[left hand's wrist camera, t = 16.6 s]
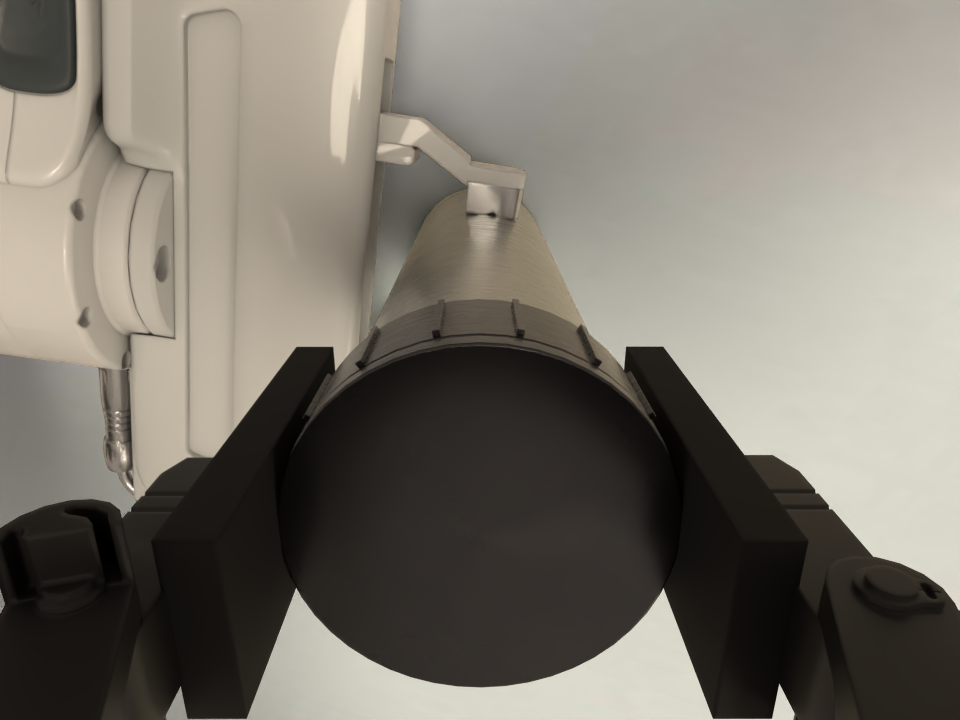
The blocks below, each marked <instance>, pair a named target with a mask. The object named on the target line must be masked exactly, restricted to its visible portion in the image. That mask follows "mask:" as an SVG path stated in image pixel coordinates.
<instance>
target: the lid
mask: <svg viewBox="0 0 960 720" xmlns="http://www.w3.org/2000/svg"><path fill="white" fill-rule="evenodd" d="M655 417H656V415H655V413H654V412H653V410H652V408H651V406H650V404H649V403H648V401H647V399H646V397H645V396H644V394H643V392H642V390H641V388H640V387H639V385H638V383H637V381H636V380H635V378H634V376H633V374H632V373H631V372H628V373H625V371H624V370H623V368H622V367H621V365H620V364H619V363H618V362H617V361H616V360H615V358H614V357H613V356H612V355H611V354H610V353H609V352H608V350H607V349H606V348H605V347H603V346H602V345H601V344H600V343H599V342H598V341H596V340H595V339H594V338H593V337H592V336H591V335H589V333H588V331H587V328H586V327H585V326H583V325H582V324H581V325H580V326H579V327H577V326H576V325H574V324H573V323H571V322H569V321H567V320H565V319H563V318H561V317H559V316H556V315H554V314H552V313H550V312H548V311H544V310H541V309H538V308H535V307H532V306H529V305H525V304H520V303H519V299H512V302H509V301H504V300H488V299H471V300H457V301H450V302H445V299H441V300H438V303H437V304H435V305H430V306H428V307H425V308H422V309H419V310H416V311H413V312H410V313H407V314H405V315H403V316H401V317H399V318H397V319H395V320H393V321H391V322H389V323H387V324H386V325H384V326H383V327H381V328H380V329H379V328H378V327H377V326H375V327H373V328H372V329H371V331H370V333H369V335H368V337H367V338H366V339H364V340H363V341H362V342H361V343H360V344H359V345H358V346H357V347H356V348H354V349H353V350H352V351H351V352H350V353H349V355H348V356H347V357H346V358H345V359H344V361H343V362H342V363H341V364H340V365H339V366H338V368H337V369H336V371H335V373H334V374H333V376H332V375H330V374H327V376H326V377H325V379H324V381H323V383H322V384H321V386H320V388H319V390H318V392H317V393H316V395H315V397H314V399H313V400H312V402H311V404H310V406H309V408H308V409H307V411H306V413H305V415H304V416H303V418H302V419H303V420H305V421H306V424H305V426H304V428H303V429H302V431H301V433H300V435H299V437H298V439H297V441H296V442H295V444H294V447H293V449H292V451H291V454H290V456H289V458H288V460H287V463H286V465H285V468H284V472H283V476H282V480H281V484H280V488H279V496H278V506H277V516H278V524H279V533H280V541H281V548H282V553H283V558H284V560H285V563H286V566H287V568H288V571H289V574H290V576H291V579H292V580H293V582H294V584H295V586H296V588H297V590H298V591H299V593H300V595H301V597H302V598H303V600H304V601H305V602H306V604H307V605H308V607H309V608H310V609H311V611H312V612H313V613H314V615H315V616H316V617H317V618H318V619H319V620H320V621H321V622H322V623H323V624H324V625H325V626H326V627H327V628H328V629H329V631H330V632H332V633H333V634H334V635H335V636H336V637H338V638H339V639H340V640H341V641H343V642H344V643H345V644H346V645H348V646H349V647H350V648H352V649H354V650H355V651H357V652H358V653H360V654H361V655H363V656H364V657H366V658H368V659H370V660H372V661H374V662H376V663H378V664H380V665H382V666H384V667H386V668H388V669H390V670H393V671H396V672H398V673H401V674H404V675H407V676H409V677H413V678H417V679H421V680H425V681H429V682H433V683H438V684H445V685H452V686H463V687H496V686H508V685H515V684H521V683H527V682H532V681H535V680H539V679H543V678H547V677H550V676H553V675H556V674H559V673H561V672H564V671H567V670H569V669H572V668H574V667H576V666H578V665H580V664H582V663H584V662H586V661H588V660H590V659H592V658H594V657H596V656H597V655H599V654H600V653H602V652H603V651H605V650H606V649H608V648H609V647H611V646H612V645H614V644H615V643H616V642H617V641H618V640H620V639H621V638H622V637H623V636H624V635H626V634H627V633H628V632H629V631H630V630H631V629H632V628H633V627H634V626H635V625H636V624H637V623H638V622H639V621H640V620H641V619H642V618H643V617H644V615H645V614H646V613H647V612H648V611H649V609H650V608H651V606H652V605H653V604H654V602H655V601H656V599H657V598H658V597H659V595H660V593H661V591H662V589H663V588H664V586H665V584H666V582H667V580H668V578H669V576H670V574H671V571H672V568H673V565H674V562H675V560H676V557H677V552H678V545H679V537H680V529H681V521H682V511H683V506H682V497H681V489H680V484H679V480H678V476H677V473H676V469H675V466H674V462H673V460H672V458H671V456H670V454H669V451H668V449H667V447H666V445H665V443H664V441H663V439H662V437H661V435H660V433H659V432H658V430H657V428H656V426H655V424H654V422H653V420H652V419H653V418H655Z"/></svg>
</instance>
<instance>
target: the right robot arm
mask: <svg viewBox="0 0 960 720" xmlns="http://www.w3.org/2000/svg"><path fill="white" fill-rule="evenodd" d="M400 7H401V0H0V354H4V355H11V356H18V357H26V358H33V359H40V360H48V361H56V362H63V363H71V364H78V365H85V366H92V367H99V378H100V396H101V403H102V408H103V413H104V419H105V426H106V427H105V429H106V435H105V436H104V442H103V451H104V458H105V461H106V465H107V467H108V469H109V470H110V471H112V472H116V473H118V476H119V479H120V480H121V482H122V483H123V485H124V486H125V488H126V489H127V490H128V491H129V492H130V493H131V494H132V495H134V498H135V500H136V501H138V500H139V498H140V497H141V496H145V491H146V490H147V489H148V488H149V487H150V486H151V484H152V483H153V482H154V481H155V480H156V479H157V477H158V476H159V475H160V474H161V473H163V472H164V471H166V470H167V469H169V468H171V467H172V466H174V465H176V464H177V463H179V462H181V461H182V460H184V459H186V458H187V457H214V456H215V455H216V453H217V452H218V451H219V449H220V448H221V447H222V445H223V444H224V443H225V441H226V440H227V439H228V437H229V436H230V435H231V433H232V432H233V431H234V429H235V428H236V427H237V425H238V424H239V423H240V421H241V420H242V419H243V417H244V416H245V415H246V413H247V412H248V411H249V409H250V408H251V407H252V405H253V404H254V403H255V401H256V400H257V399H258V397H259V396H260V395H261V393H262V392H263V391H264V389H265V388H266V387H267V385H268V384H269V383H270V381H271V380H272V379H273V377H274V376H275V375H276V373H277V372H278V371H279V369H280V368H281V367H282V365H283V364H284V363H285V361H286V360H287V359H288V357H289V356H290V355H291V353H292V352H293V351H294V349H295V348H296V347H333V348H334V360H335V371H336V369H337V368H338V366H339V365H340V364H341V363H342V362H343V361H344V359H345V358H346V357H347V356H348V355H349V353H350V352H351V351H352V350H353V349H354V348H356V347H357V346H358V345H359V344H360V343H361V342H362V341H363V340H364V339H366V338H367V337H368V335H369V328H370V317H371V307H372V297H373V286H374V276H375V266H376V255H377V245H378V235H379V224H380V214H381V204H382V193H383V183H384V173H385V162H386V163H393V164H399V165H406V166H410V165H412V164H413V163H414V162H415V161H416V160H417V159H419V156H420V150H421V151H423V152H424V153H425V154H426V155H428V156H429V157H430V158H431V159H433V160H434V161H435V162H437V163H438V164H439V165H440V166H442V167H443V168H444V169H445V170H447V171H448V172H449V173H450V174H452V175H453V176H454V177H455V178H457V179H458V180H459V181H461V182H462V183H463V184H464V185H466V186H467V183H468V188H467V196H466V204H465V212H467V213H473V214H485V215H487V214H489V213H491V212H494V213H495V214H496V215H497V216H499V217H503V218H506V219H518V218H519V212H520V207H521V202H522V196H523V191H524V185H525V179H526V172H525V170H522V169H518V168H514V167H508V166H502V165H495V164H489V163H483V162H476V161H471V156H470V155H469V154H467V153H466V152H465V151H464V150H463V149H461V148H460V147H459V146H458V145H456V144H455V143H454V142H453V141H452V140H450V139H449V138H448V137H447V136H446V135H444V134H443V133H442V132H441V131H439V130H438V129H437V128H436V127H435V126H433V125H432V124H431V123H430V122H429V121H427V120H426V119H425V118H420V117H414V116H408V115H401V114H395V113H390V111H391V100H392V90H393V80H394V69H395V59H396V49H397V38H398V28H399V18H400ZM132 469H133V477H132V475H131V473H130V470H132Z"/></svg>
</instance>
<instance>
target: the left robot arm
mask: <svg viewBox="0 0 960 720" xmlns="http://www.w3.org/2000/svg"><path fill="white" fill-rule="evenodd" d="M624 371H625V373H628V372H631V373H632V374H633V376H634V378H635V380H636V381H637V383H638V385H639V387H640V388H641V390H642V392H643V394H644V396H645V397H646V399H647V401H648V403H649V404H650V406H651V408H652V410H653V412H654V413H655V415H656V417H655V418H653V419H652V420H653V422H654V424H655V426H656V428H657V430H658V432H659V433H660V435H661V437H662V439H663V441H664V443H665V445H666V447H667V449H668V451H669V454H670V456H671V458H672V460H673V462H674V466H675V469H676V473H677V476H678V480H679V484H680V489H681V497H682V506H683V511H682V521H681V529H680V537H679V545H678V552H677V557H676V560H675V562H674V565H673V568H672V571H671V574H670V576H669V578H668V580H667V582H666V584H665V586H664V590H665V593H666V596H667V598H668V601H669V604H670V606H671V609H672V612H673V614H674V617H675V619H676V622H677V625H678V627H679V630H680V633H681V635H682V638H683V641H684V643H685V646H686V649H687V651H688V654H689V656H690V659H691V662H692V664H693V667H694V670H695V672H696V675H697V678H698V680H699V683H700V686H701V688H702V691H703V693H704V696H705V699H706V701H707V704H708V707H709V709H710V712H711V715H712V717H713V719H772V716H773V711H774V706H775V701H776V696H777V692H778V687H779V684H780V686H781V688H782V689H783V691H784V693H785V695H786V697H787V699H788V701H789V703H790V705H791V707H792V709H793V711H794V713H795V715H794V719H793V720H960V611H959V610H958V609H957V607H956V605H955V603H954V602H953V600H952V599H951V598H950V597H949V595H948V594H947V593H946V592H945V590H944V589H943V588H942V587H940V586H939V585H938V584H936V583H935V582H934V581H932V580H931V579H929V578H928V577H927V576H925V575H924V574H922V573H920V572H917V571H915V570H913V569H911V568H909V567H907V566H904V565H902V564H900V563H896V562H892V561H889V560H885V559H881V558H877V557H873V556H872V555H871V554H870V553H869V551H868V550H867V549H866V548H865V547H864V546H863V544H862V543H861V542H860V541H859V540H858V539H857V538H856V536H855V535H854V534H853V533H852V532H851V531H850V529H849V528H848V527H847V526H846V525H845V524H844V523H843V521H842V520H841V519H840V518H839V517H838V516H837V514H836V513H835V512H834V511H833V510H832V509H829V505H828V504H827V503H826V502H825V501H824V499H823V498H822V497H821V496H820V495H819V494H816V493H815V489H814V488H813V487H812V486H811V484H810V483H809V482H808V481H807V480H806V479H805V477H804V476H803V475H802V474H801V473H800V472H799V471H798V470H796V469H795V468H793V467H791V466H790V465H788V464H786V463H785V462H783V461H781V460H780V459H778V458H776V457H775V456H773V455H744V454H743V453H742V451H741V450H740V449H739V447H738V446H737V445H736V443H735V442H734V441H733V439H732V438H731V437H730V435H729V434H728V433H727V431H726V430H725V429H724V427H723V426H722V425H721V423H720V422H719V421H718V419H717V418H716V417H715V415H714V414H713V413H712V411H711V410H710V409H709V407H708V406H707V405H706V403H705V402H704V401H703V399H702V398H701V397H700V395H699V394H698V393H697V391H696V390H695V389H694V387H693V386H692V385H691V383H690V382H689V381H688V379H687V378H686V377H685V375H684V374H683V373H682V371H681V370H680V369H679V367H678V366H677V365H676V363H675V362H674V361H673V359H672V358H671V357H670V355H669V354H668V353H667V351H666V350H665V349H664V347H626V355H625V367H624ZM334 373H335V360H334V348H333V347H296V348H295V349H294V351H293V352H292V353H291V355H290V356H289V357H288V359H287V360H286V361H285V363H284V364H283V365H282V367H281V368H280V369H279V371H278V372H277V373H276V375H275V376H274V377H273V379H272V380H271V381H270V383H269V384H268V385H267V387H266V388H265V389H264V391H263V392H262V393H261V395H260V396H259V397H258V399H257V400H256V401H255V403H254V404H253V405H252V407H251V408H250V409H249V411H248V412H247V413H246V415H245V416H244V417H243V419H242V420H241V421H240V423H239V424H238V425H237V427H236V428H235V429H234V431H233V432H232V433H231V435H230V436H229V437H228V439H227V440H226V441H225V443H224V444H223V445H222V447H221V448H220V449H219V451H218V452H217V453H216V455H215V456H214V457H187V458H186V459H184V460H182V461H181V462H179V463H177V464H176V465H174V466H172V467H171V468H169V469H167V470H166V471H164V472H163V473H161V474H160V475H159V476H158V477H157V479H156V480H155V481H154V482H153V483H152V484H151V486H150V487H149V488H148V489H147V490H146V491H145V496H141V497H140V498H139V500H138V501H137V502H136V503H135V504H134V505H133V507H132V508H131V512H127V514H126V515H125V516H124V517H123V518H122V517H121V512H120V510H119V509H118V508H116V507H115V506H114V505H112V504H111V503H109V502H104V501H99V500H94V499H88V500H71V501H66V502H61V503H57V504H53V505H48V506H44V507H42V508H39V509H37V510H34V511H32V512H29V513H26V514H24V515H21V516H19V517H18V518H16V519H14V520H13V521H11V522H10V523H8V524H6V525H5V526H3V527H1V528H0V589H1V592H2V595H3V599H4V602H5V606H4V608H3V610H2V612H1V614H0V720H167V719H166V714H167V712H168V710H169V708H170V706H171V704H172V702H173V700H174V698H175V696H176V694H177V692H178V690H179V688H180V686H181V689H182V694H183V699H184V703H185V708H186V713H187V718H188V719H247V716H248V714H249V711H250V708H251V706H252V703H253V700H254V698H255V695H256V692H257V690H258V687H259V684H260V682H261V679H262V677H263V674H264V671H265V669H266V666H267V663H268V661H269V658H270V655H271V653H272V650H273V647H274V645H275V642H276V640H277V637H278V634H279V632H280V629H281V626H282V624H283V621H284V618H285V616H286V613H287V610H288V608H289V605H290V602H291V600H292V597H293V595H294V592H295V589H296V586H295V584H294V582H293V580H292V579H291V576H290V574H289V571H288V568H287V566H286V563H285V560H284V558H283V553H282V548H281V541H280V533H279V524H278V516H277V506H278V496H279V488H280V484H281V480H282V476H283V472H284V468H285V465H286V463H287V460H288V458H289V456H290V454H291V451H292V449H293V447H294V444H295V442H296V441H297V439H298V437H299V435H300V433H301V431H302V429H303V428H304V426H305V424H306V421H305V420H303V419H302V418H303V416H304V415H305V413H306V411H307V409H308V408H309V406H310V404H311V402H312V400H313V399H314V397H315V395H316V393H317V392H318V390H319V388H320V386H321V384H322V383H323V381H324V379H325V377H326V376H327V374H330V375H332V376H333V374H334Z"/></svg>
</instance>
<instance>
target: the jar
mask: <svg viewBox="0 0 960 720" xmlns="http://www.w3.org/2000/svg"><path fill="white" fill-rule="evenodd" d="M466 196H467V189H463V190H460V191H457V192H455V193H452V194H450V195H448V196H447V197H445V198H444V199H442V200H441V201H440V202H439V203H438V204H436V205H435V206H434V208H433V209H432V210H431V211H430V212H429V214H428V215H427V217H426V218H425V220H424V222H423V224H422V226H421V229H420V231H419V233H418V235H417V237H416V239H415V241H414V243H413V246H412V248H411V250H410V252H409V254H408V256H407V258H406V260H405V263H404V265H403V267H402V269H401V271H400V273H399V275H398V277H397V280H396V282H395V284H394V286H393V288H392V290H391V292H390V294H389V297H388V299H387V301H386V303H385V305H384V307H383V309H382V311H381V314H380V316H379V318H378V320H377V322H376V324H375V326H377V327H378V328H379V329H380V328H381V327H383V326H384V325H386V324H387V323H389V322H391V321H393V320H395V319H397V318H399V317H401V316H403V315H405V314H407V313H410V312H413V311H416V310H419V309H422V308H425V307H428V306H430V305H435V304H437V303H438V300H441V299H445V302H450V301H457V300H471V299H488V300H504V301H509V302H512V299H519V303H520V304H525V305H529V306H532V307H535V308H538V309H541V310H544V311H548V312H550V313H552V314H554V315H556V316H559V317H561V318H563V319H565V320H567V321H569V322H571V323H573V324H574V325H576V326H577V327H579V326H580V325H581V324H582V325H583V326H585V324H584V322H583V320H582V318H581V316H580V314H579V312H578V310H577V308H576V305H575V303H574V301H573V299H572V297H571V295H570V293H569V291H568V288H567V286H566V284H565V282H564V280H563V278H562V276H561V274H560V272H559V269H558V267H557V265H556V263H555V261H554V259H553V257H552V255H551V253H550V250H549V248H548V246H547V244H546V242H545V240H544V238H543V236H542V234H541V231H540V229H539V227H538V225H537V223H536V221H535V219H534V218H533V216H532V214H531V213H530V212H529V210H528V209H527V208H526V207H525V206H524V205H523V204H522V203H521V207H520V212H519V218H518V219H506V218H503V217H499V216H497V215H496V214H495V213H494V212H491V213H489V214H487V215H485V214H473V213H467V212H465V204H466ZM375 326H374V327H375Z"/></svg>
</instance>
